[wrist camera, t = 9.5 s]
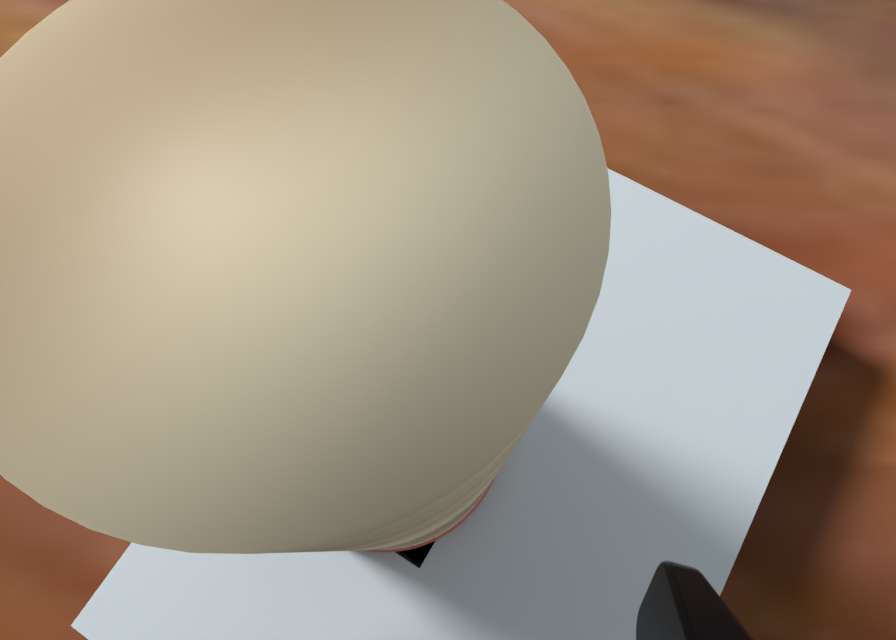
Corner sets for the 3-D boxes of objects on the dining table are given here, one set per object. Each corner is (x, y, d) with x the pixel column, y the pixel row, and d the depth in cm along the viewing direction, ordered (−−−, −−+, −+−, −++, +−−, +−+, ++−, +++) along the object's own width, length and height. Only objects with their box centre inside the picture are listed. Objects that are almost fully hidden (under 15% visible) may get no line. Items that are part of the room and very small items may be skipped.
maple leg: (537, 457, 17) (767, 221, 5) (380, 598, 16) (149, 770, 4) (410, 315, 18) (334, -155, 6) (258, 435, 17) (-216, 153, 5)
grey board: (799, 323, 18) (851, 290, 16) (532, 916, 14) (549, 992, 12) (458, 146, 20) (459, 94, 18) (126, 614, 16) (70, 626, 14)
